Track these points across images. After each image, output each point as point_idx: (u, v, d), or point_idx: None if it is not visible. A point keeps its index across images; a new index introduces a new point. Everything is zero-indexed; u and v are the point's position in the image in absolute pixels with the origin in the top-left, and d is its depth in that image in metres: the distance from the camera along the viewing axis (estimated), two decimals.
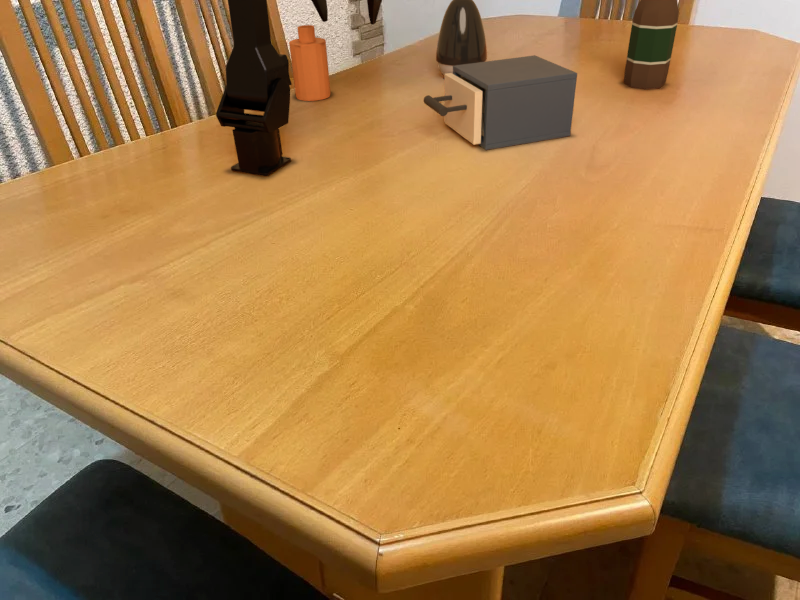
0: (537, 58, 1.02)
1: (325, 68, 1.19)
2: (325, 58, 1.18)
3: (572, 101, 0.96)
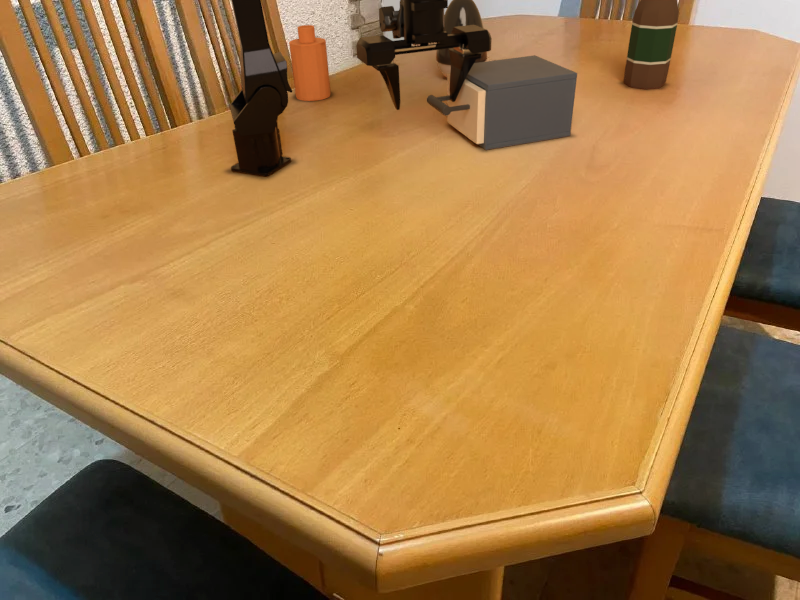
0: (537, 58, 1.02)
1: (325, 68, 1.19)
2: (325, 58, 1.18)
3: (572, 101, 0.96)
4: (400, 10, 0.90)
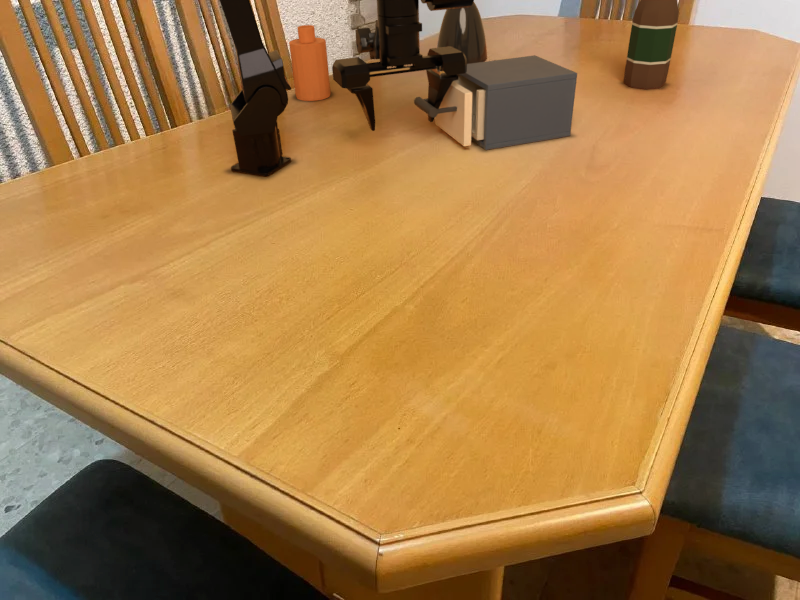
0: (537, 58, 1.02)
1: (325, 68, 1.19)
2: (325, 58, 1.18)
3: (572, 101, 0.96)
4: (375, 32, 0.90)
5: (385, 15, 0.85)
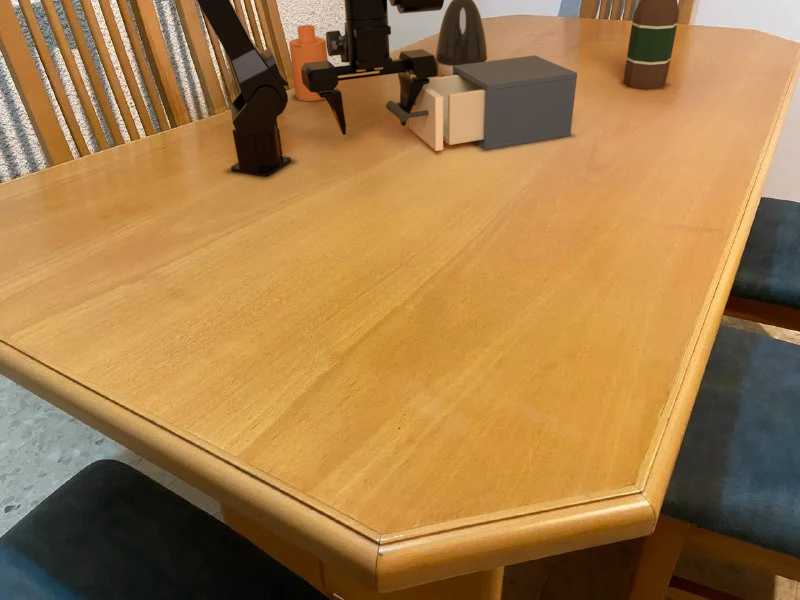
0: (537, 58, 1.02)
1: None
2: (325, 58, 1.18)
3: (572, 101, 0.96)
4: (345, 35, 0.89)
5: (352, 18, 0.84)
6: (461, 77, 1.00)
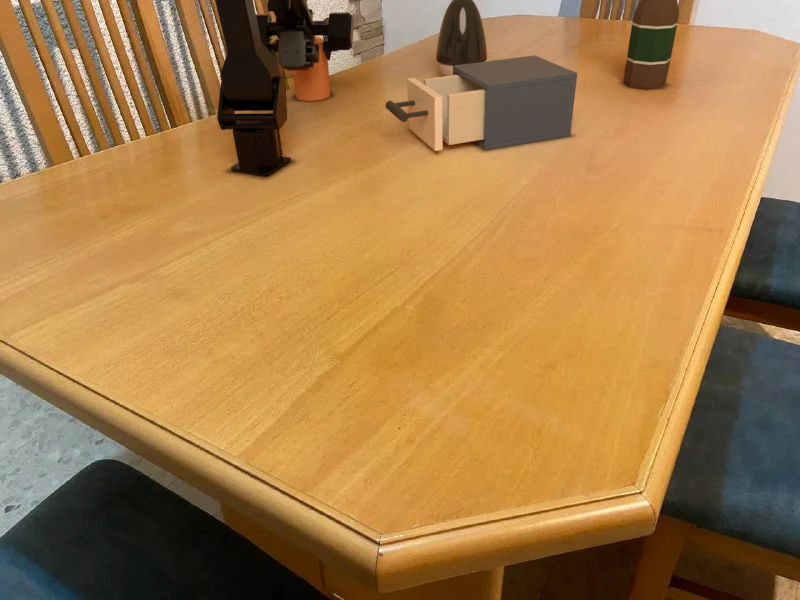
0: (537, 58, 1.02)
1: (325, 68, 1.19)
2: (325, 58, 1.18)
3: (572, 101, 0.96)
4: (306, 29, 1.07)
5: (298, 16, 1.05)
6: (460, 77, 1.00)
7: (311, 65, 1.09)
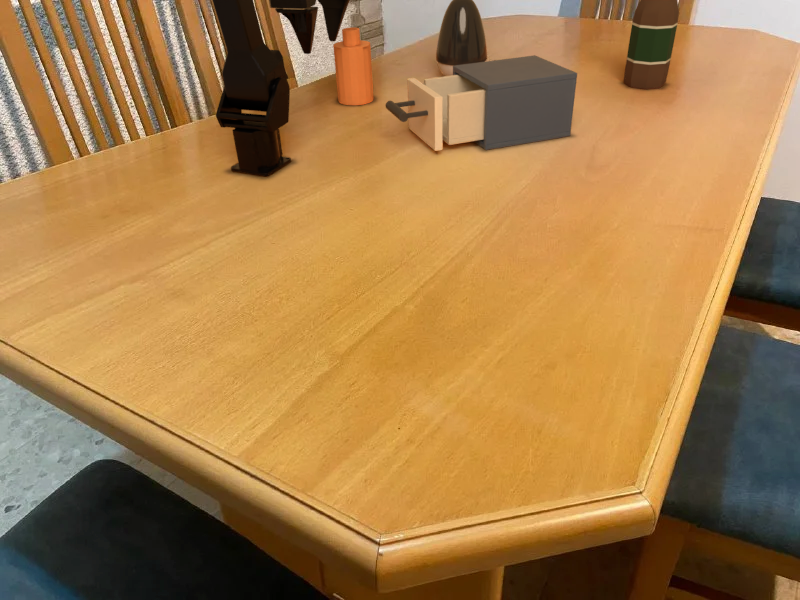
0: (537, 58, 1.02)
1: (366, 73, 1.15)
2: (368, 62, 1.14)
3: (572, 101, 0.96)
4: None
5: None
6: (460, 77, 1.00)
7: None
